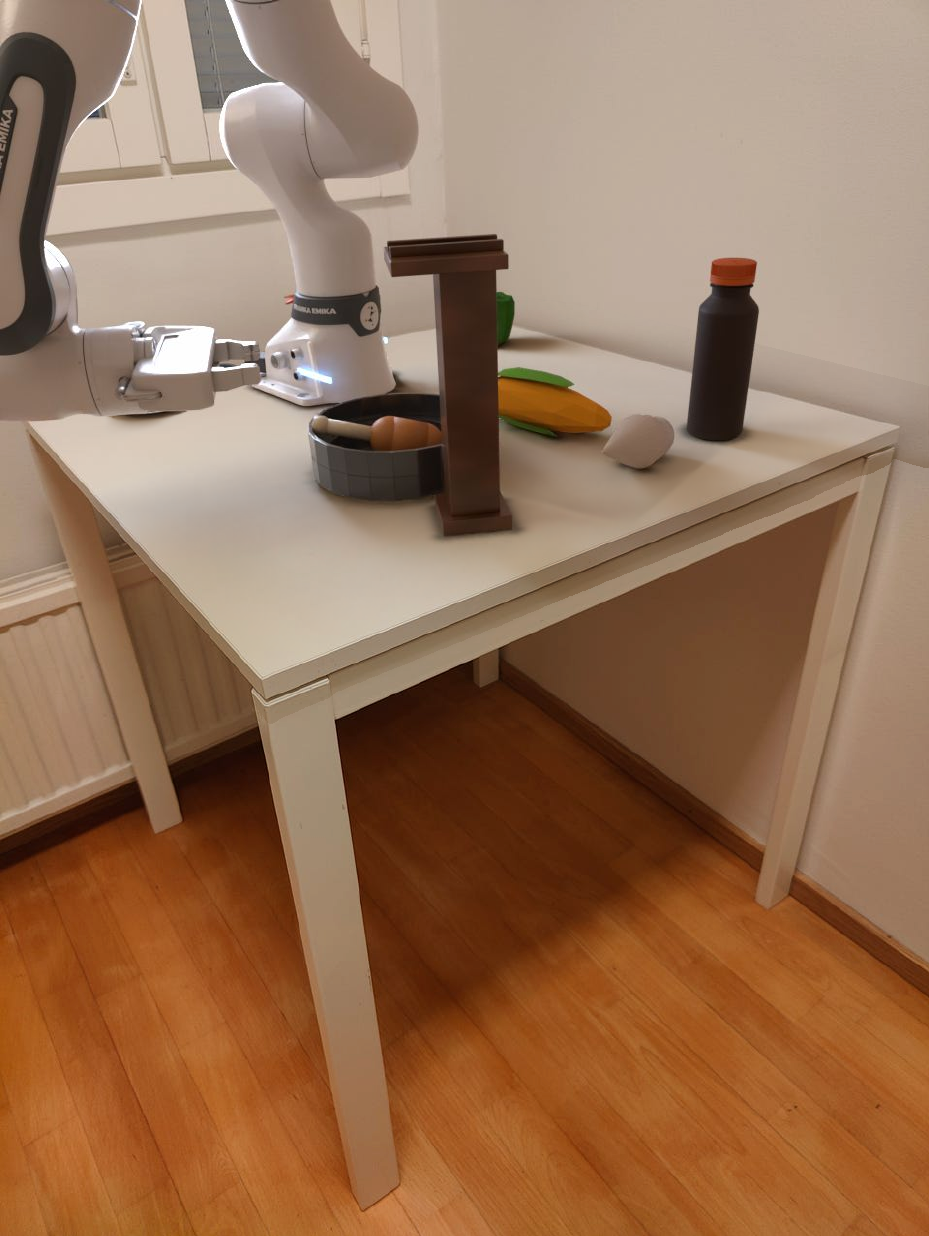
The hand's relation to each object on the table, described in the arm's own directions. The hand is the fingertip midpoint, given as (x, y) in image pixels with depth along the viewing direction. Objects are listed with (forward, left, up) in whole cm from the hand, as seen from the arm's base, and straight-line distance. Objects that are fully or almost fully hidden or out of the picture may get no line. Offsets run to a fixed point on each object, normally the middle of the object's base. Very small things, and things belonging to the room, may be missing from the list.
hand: (260, 361), depth 93 cm
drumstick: (+8, +8, -12) cm, 16 cm away
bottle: (+36, +40, -14) cm, 55 cm away
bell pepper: (-13, +61, -14) cm, 64 cm away
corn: (+18, +30, -14) cm, 37 cm away
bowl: (+10, +10, -14) cm, 20 cm away
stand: (+24, +3, -14) cm, 28 cm away
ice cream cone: (+33, +24, -14) cm, 43 cm away
